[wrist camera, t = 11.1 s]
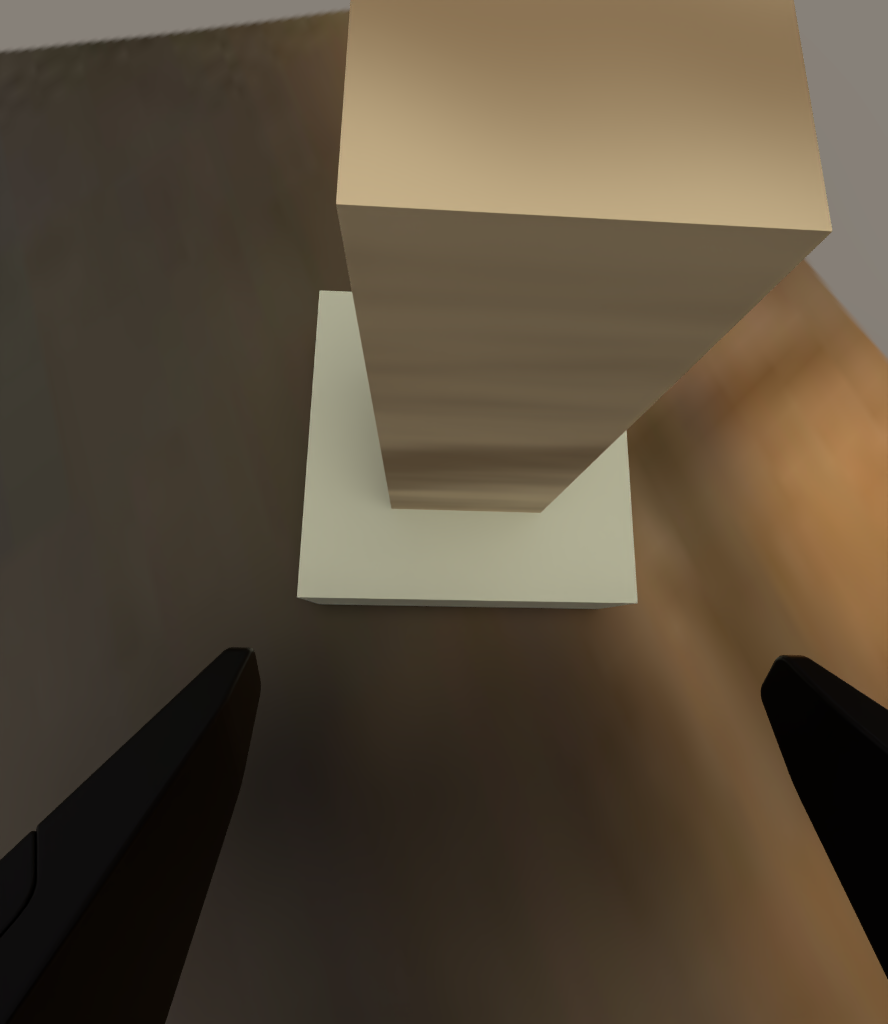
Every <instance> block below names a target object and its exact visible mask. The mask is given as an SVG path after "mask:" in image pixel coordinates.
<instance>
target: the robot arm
mask: <svg viewBox="0 0 888 1024" xmlns="http://www.w3.org/2000/svg"><path fill="white" fill-rule="evenodd" d="M260 690H261V681H260V676H259V670H258V665H257V660H256V655H255V652H254V650H253V649H252V648H238V647H231V648H228V649H226V650H224V651H223V652H222V653H221V654H220V655H219V656H218V657H217V658H216V659H215V660H214V661H213V662H212V663H210V664H209V665H208V666H207V667H206V668H205V669H204V670H203V671H202V672H201V673H200V674H199V675H198V676H197V677H196V678H194V679H193V680H192V681H191V682H190V683H189V684H188V685H187V686H186V687H185V688H184V689H183V690H182V691H181V692H180V693H178V694H177V695H176V696H175V697H174V698H173V699H172V700H171V701H170V702H169V703H168V704H167V705H166V706H165V707H164V708H162V709H161V710H160V711H159V712H158V713H157V714H156V715H155V716H154V717H153V718H152V719H151V720H150V721H149V722H148V723H146V724H145V725H144V726H143V727H142V728H141V729H140V730H139V731H138V732H137V733H136V734H135V735H134V736H133V737H131V738H130V739H129V740H128V741H127V742H126V743H125V744H124V745H123V746H122V747H121V748H120V749H119V750H118V751H117V752H115V753H114V754H113V755H112V756H111V757H110V758H109V759H108V760H107V761H106V762H105V763H104V764H103V765H102V766H101V767H99V768H98V769H97V770H96V771H95V772H94V773H93V774H92V775H91V776H90V777H89V778H88V779H87V780H86V781H85V782H83V783H82V784H81V785H80V786H79V787H78V788H77V789H76V790H75V791H74V792H73V793H72V794H71V795H70V796H69V797H67V798H66V799H65V800H64V801H63V802H62V803H61V804H60V805H59V806H58V807H57V808H56V809H55V810H54V811H53V812H51V813H50V814H49V815H48V816H47V817H46V818H45V819H44V820H43V821H42V822H41V823H40V824H39V825H38V826H37V828H36V831H31V832H30V833H29V834H28V835H27V836H26V837H24V838H23V839H22V840H21V841H20V842H19V843H18V844H17V845H16V846H15V847H14V848H13V849H12V850H11V851H10V852H8V853H7V854H6V855H5V856H4V857H3V858H2V859H1V860H0V1024H165V1022H166V1019H167V1016H168V1013H169V1009H170V1006H171V1003H172V1000H173V997H174V994H175V991H176V988H177V985H178V981H179V978H180V975H181V972H182V969H183V966H184V963H185V960H186V957H187V953H188V950H189V947H190V944H191V941H192V938H193V935H194V932H195V929H196V926H197V922H198V919H199V916H200V913H201V910H202V907H203V904H204V901H205V898H206V894H207V891H208V888H209V885H210V882H211V879H212V876H213V873H214V870H215V866H216V863H217V860H218V857H219V854H220V851H221V848H222V845H223V842H224V839H225V835H226V832H227V829H228V826H229V823H230V820H231V817H232V814H233V811H234V807H235V804H236V801H237V798H238V794H239V791H240V788H241V784H242V780H243V775H244V771H245V766H246V761H247V756H248V751H249V746H250V741H251V736H252V732H253V727H254V722H255V717H256V712H257V707H258V702H259V697H260ZM761 699H762V702H763V705H764V708H765V710H766V713H767V716H768V718H769V721H770V724H771V726H772V729H773V732H774V734H775V737H776V740H777V742H778V745H779V748H780V750H781V753H782V756H783V758H784V761H785V764H786V767H787V769H788V772H789V774H790V777H791V779H792V782H793V784H794V787H795V789H796V791H797V793H798V795H799V797H800V800H801V802H802V804H803V806H804V808H805V810H806V812H807V814H808V816H809V818H810V820H811V822H812V824H813V826H814V829H815V831H816V833H817V835H818V837H819V839H820V841H821V843H822V845H823V847H824V849H825V851H826V853H827V855H828V857H829V859H830V861H831V863H832V866H833V868H834V870H835V872H836V874H837V876H838V878H839V880H840V882H841V884H842V886H843V888H844V890H845V892H846V894H847V896H848V898H849V901H850V903H851V905H852V907H853V909H854V911H855V913H856V915H857V917H858V919H859V921H860V923H861V925H862V927H863V929H864V931H865V933H866V935H867V938H868V940H869V942H870V944H871V946H872V948H873V950H874V952H875V954H876V956H877V958H878V960H879V962H880V964H881V966H882V968H883V970H884V973H885V975H886V977H887V979H888V710H887V709H886V708H884V707H883V706H881V705H880V704H878V703H877V702H875V701H874V700H872V699H871V698H869V697H867V696H866V695H864V694H863V693H861V692H860V691H858V690H857V689H855V688H854V687H852V686H851V685H849V684H848V683H846V682H845V681H843V680H842V679H840V678H838V677H837V676H835V675H834V674H832V673H831V672H829V671H828V670H826V669H825V668H823V667H822V666H820V665H819V664H817V663H816V662H814V661H813V660H811V659H809V658H808V657H805V656H801V655H782V656H779V657H778V658H776V660H775V661H774V663H773V665H772V667H771V669H770V671H769V673H768V675H767V676H766V678H765V680H764V682H763V684H762V687H761Z"/></svg>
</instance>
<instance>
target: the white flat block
mask: <svg viewBox="0 0 888 1024" xmlns="http://www.w3.org/2000/svg"><path fill="white" fill-rule="evenodd" d="M297 597H298V598H301V599H304V600H307V601H310V602H313V603H317V604H335V605H394V606H453V607H511V608H570V609H600V608H608V607H615V606H622V605H629V604H636V603H638V602H637V586H636V571H635V556H634V540H633V525H632V509H631V494H630V479H629V463H628V448H627V432H626V431H625V432H624V433H623V434H622V435H621V436H620V437H619V438H618V439H617V440H616V441H615V442H614V443H612V444H611V445H610V446H609V447H608V448H607V449H606V450H605V451H604V452H603V453H602V454H601V455H600V456H599V457H598V458H597V459H596V460H595V461H594V462H593V463H592V464H591V465H590V466H589V467H588V468H587V469H586V470H585V471H583V472H582V473H581V474H580V475H579V476H578V477H577V478H576V479H575V480H574V481H573V482H572V483H571V484H570V485H569V486H568V487H567V488H566V489H565V490H564V491H563V492H562V493H561V494H560V495H559V496H558V497H557V498H556V499H554V500H553V501H552V502H551V503H550V504H549V505H548V506H547V507H546V508H545V509H544V510H543V511H542V512H541V513H529V512H492V511H456V510H420V509H391V504H390V498H389V493H388V487H387V482H386V476H385V471H384V465H383V459H382V454H381V448H380V443H379V437H378V432H377V426H376V421H375V415H374V410H373V404H372V399H371V393H370V388H369V382H368V377H367V371H366V366H365V360H364V355H363V349H362V344H361V338H360V333H359V327H358V322H357V316H356V311H355V305H354V300H353V294H352V292H342V291H320V293H319V307H318V320H317V334H316V347H315V361H314V374H313V388H312V401H311V415H310V428H309V442H308V456H307V469H306V483H305V496H304V510H303V523H302V537H301V550H300V564H299V577H298V591H297Z"/></svg>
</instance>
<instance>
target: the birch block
mask: <svg viewBox="0 0 888 1024" xmlns="http://www.w3.org/2000/svg"><path fill="white" fill-rule="evenodd" d="M336 206H337V212H338V217H339V223H340V228H341V234H342V239H343V245H344V250H345V256H346V261H347V267H348V272H349V278H350V283H351V289H352V294H353V300H354V305H355V311H356V316H357V322H358V327H359V333H360V338H361V344H362V349H363V355H364V360H365V366H366V371H367V377H368V382H369V388H370V393H371V399H372V404H373V410H374V415H375V421H376V426H377V432H378V437H379V443H380V448H381V454H382V459H383V465H384V471H385V476H386V482H387V487H388V493H389V498H390V504H391V509H420V510H456V511H492V512H529V513H541V512H542V511H543V510H544V509H545V508H546V507H547V506H548V505H549V504H550V503H551V502H552V501H553V500H554V499H556V498H557V497H558V496H559V495H560V494H561V493H562V492H563V491H564V490H565V489H566V488H567V487H568V486H569V485H570V484H571V483H572V482H573V481H574V480H575V479H576V478H577V477H578V476H579V475H580V474H581V473H582V472H583V471H585V470H586V469H587V468H588V467H589V466H590V465H591V464H592V463H593V462H594V461H595V460H596V459H597V458H598V457H599V456H600V455H601V454H602V453H603V452H604V451H605V450H606V449H607V448H608V447H609V446H610V445H611V444H612V443H614V442H615V441H616V440H617V439H618V438H619V437H620V436H621V435H622V434H623V433H624V432H625V431H626V430H627V429H628V428H629V427H630V426H631V425H632V424H633V423H634V422H635V421H636V420H637V419H638V418H639V417H640V416H642V415H643V414H644V413H645V412H646V411H647V410H648V409H649V408H650V407H651V406H652V405H653V404H654V403H655V402H656V401H657V400H658V399H659V398H660V397H661V396H662V395H663V394H664V393H665V392H666V391H667V390H668V389H669V388H671V387H672V386H673V385H674V384H675V383H676V382H677V381H678V380H679V379H680V378H681V377H682V376H683V375H684V374H685V373H686V372H687V371H688V370H689V369H690V368H691V367H692V366H693V365H694V364H695V363H696V362H697V361H698V360H700V359H701V358H702V357H703V356H704V355H705V354H706V353H707V352H708V351H709V350H710V349H711V348H712V347H713V346H714V345H715V344H716V343H717V342H718V341H719V340H720V339H721V338H722V337H723V336H724V335H725V334H726V333H727V332H729V331H730V330H731V329H732V328H733V327H734V326H735V325H736V324H737V323H738V322H739V321H740V320H741V319H742V318H743V317H744V316H745V315H746V314H747V313H748V312H749V311H750V310H751V309H752V308H753V307H754V306H755V305H757V304H758V303H759V302H760V301H761V300H762V299H763V298H764V297H765V296H766V295H767V294H768V293H769V292H770V291H771V290H772V289H773V288H774V287H775V286H776V285H777V284H778V283H779V282H780V281H781V280H782V279H783V278H784V277H786V276H787V275H788V274H789V273H790V272H791V271H792V270H793V269H794V268H795V267H796V266H797V265H798V264H799V263H800V262H801V261H802V260H803V259H804V258H805V257H806V256H807V255H808V254H809V253H810V252H811V251H812V250H813V249H815V247H816V246H817V245H819V244H820V243H821V242H822V241H823V240H824V239H825V238H826V237H827V236H828V235H829V234H830V233H831V232H832V226H831V221H830V214H829V209H828V202H827V196H826V191H825V185H824V179H823V173H822V167H821V161H820V155H819V149H818V143H817V137H816V131H815V125H814V119H813V113H812V107H811V101H810V95H809V89H808V84H807V77H806V72H805V65H804V59H803V54H802V47H801V42H800V36H799V30H798V24H797V18H796V12H795V6H794V0H351V2H350V16H349V31H348V45H347V59H346V73H345V87H344V101H343V115H342V129H341V143H340V157H339V171H338V185H337V199H336Z"/></svg>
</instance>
